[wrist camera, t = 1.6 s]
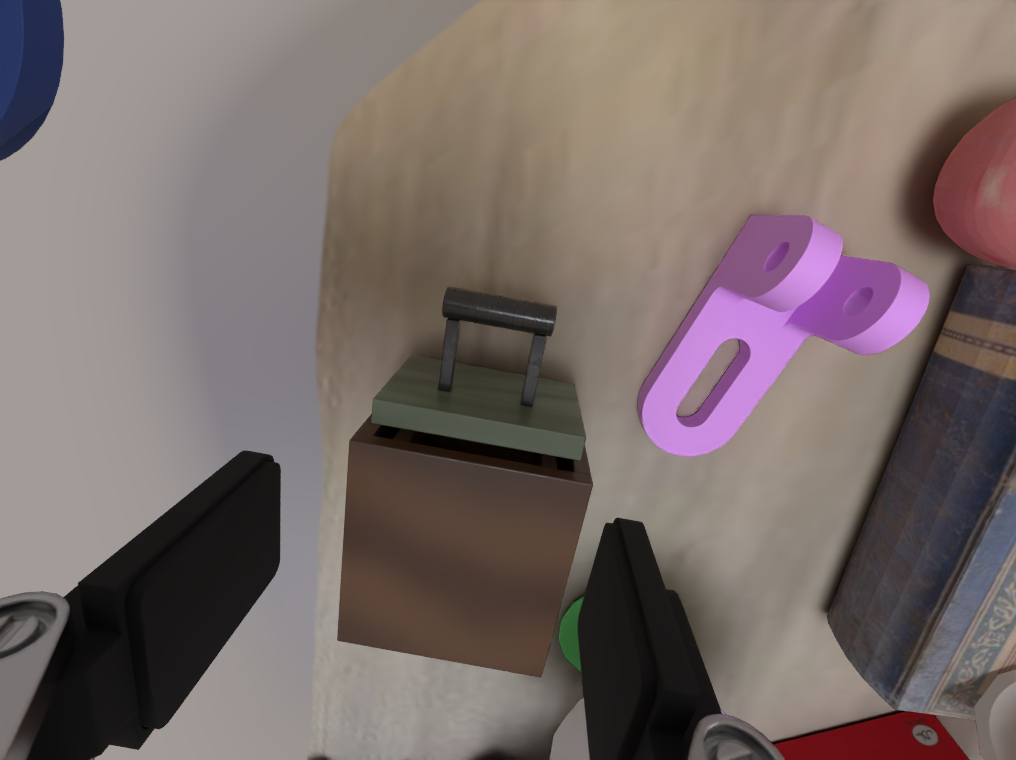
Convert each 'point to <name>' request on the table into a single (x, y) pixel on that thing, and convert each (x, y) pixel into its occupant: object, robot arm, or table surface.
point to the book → (944, 522)
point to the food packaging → (879, 741)
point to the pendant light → (998, 719)
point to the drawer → (485, 392)
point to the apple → (982, 189)
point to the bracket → (773, 324)
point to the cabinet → (456, 551)
